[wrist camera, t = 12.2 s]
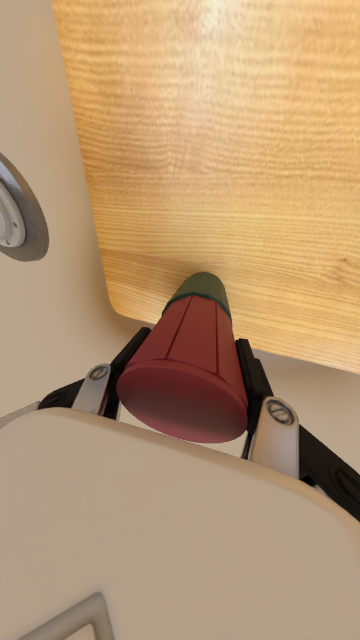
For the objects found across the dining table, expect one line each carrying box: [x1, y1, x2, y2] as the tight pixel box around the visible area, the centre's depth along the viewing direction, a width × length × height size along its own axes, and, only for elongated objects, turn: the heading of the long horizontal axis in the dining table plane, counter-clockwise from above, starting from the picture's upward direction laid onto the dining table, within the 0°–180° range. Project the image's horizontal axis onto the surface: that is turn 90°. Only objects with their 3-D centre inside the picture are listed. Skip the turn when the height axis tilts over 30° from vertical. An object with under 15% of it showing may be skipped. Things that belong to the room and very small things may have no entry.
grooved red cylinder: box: [116, 295, 248, 443], centre depth 10 cm, size 7×7×8 cm
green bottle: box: [162, 272, 232, 326], centre depth 15 cm, size 7×7×15 cm
